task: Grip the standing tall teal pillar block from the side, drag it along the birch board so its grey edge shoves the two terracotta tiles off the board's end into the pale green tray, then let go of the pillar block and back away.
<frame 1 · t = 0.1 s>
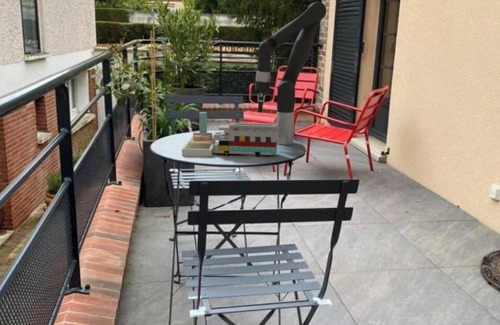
hand: (260, 111, 262), 17 cm above the table, tool pointing down, fingers open, 8 cm apart
tile b: (197, 139, 254), point 4 cm above the table, touching board
toy vehicle: (245, 155, 241), on the table
tray: (198, 153, 242), on the table
tall teal pillar block: (203, 137, 260), point 4 cm above the table, touching board
tile a: (206, 139, 254), point 4 cm above the table, touching board
board: (202, 146, 256), on the table
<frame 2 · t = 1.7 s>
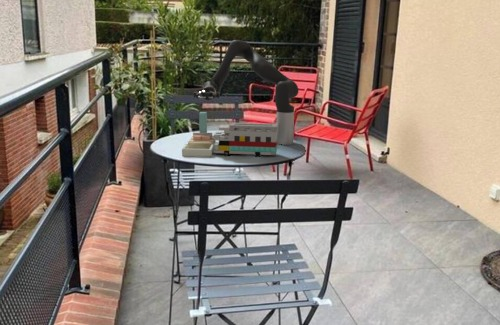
hand: (205, 96, 265), 24 cm above the table, tool horizontal, fingers open, 8 cm apart
nothing on the table moved.
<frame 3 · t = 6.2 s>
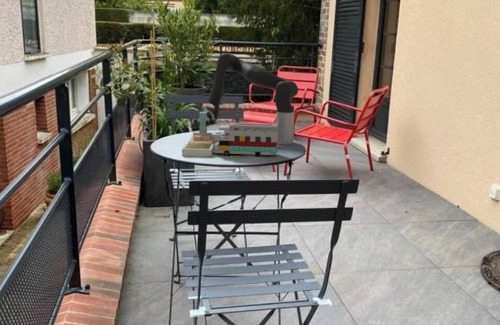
hand: (202, 124, 255), 12 cm above the table, tool horizontal, fingers closed on tall teal pillar block, 3 cm apart
tall teal pillar block: (203, 137, 260), point 4 cm above the table, touching board, gripper
everything else where it was.
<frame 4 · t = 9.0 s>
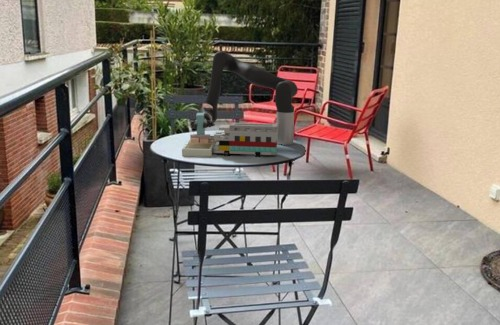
hand: (199, 126, 246), 12 cm above the table, tool horizontal, fingers closed on tall teal pillar block, 3 cm apart
tile b: (195, 142, 248), point 4 cm above the table, touching board
tall teal pillar block: (201, 138, 253), point 5 cm above the table, tilted 11°, touching gripper, tile a
tile a: (204, 142, 248), point 4 cm above the table, touching tall teal pillar block
everything else where it was.
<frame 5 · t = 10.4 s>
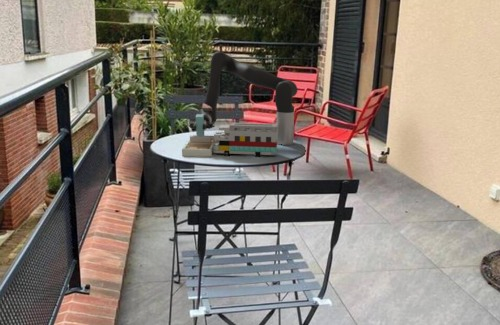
hand: (199, 127, 243), 12 cm above the table, tool horizontal, fingers closed on tall teal pillar block, 3 cm apart
tile b: (193, 147, 242), point 3 cm above the table, tilted 180°, touching tray
tall teal pillar block: (200, 139, 250), point 5 cm above the table, tilted 13°, touching gripper
tile a: (203, 147, 242), point 3 cm above the table, tilted 180°, touching tray
everything else where it was.
when the fingers open (12 cm above the table, at t = 11.4 s): tall teal pillar block stays where it is, resting on board.
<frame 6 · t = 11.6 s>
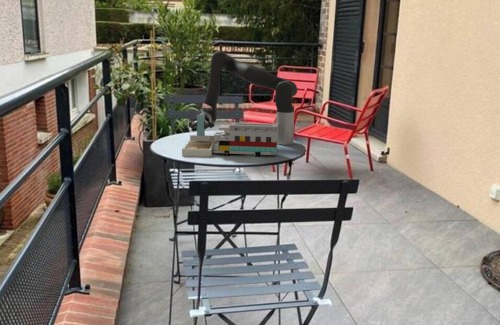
hand: (199, 126, 243), 12 cm above the table, tool horizontal, fingers open, 5 cm apart
tall teal pillar block: (200, 140, 250), point 4 cm above the table, tilted 7°, touching board
everything else where it was.
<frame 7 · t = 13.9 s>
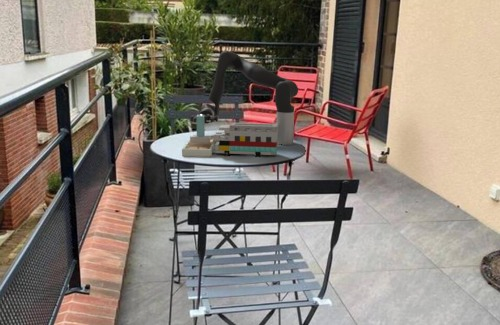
hand: (203, 120, 256), 13 cm above the table, tool horizontal, fingers open, 8 cm apart
tall teal pillar block: (200, 141, 250), point 4 cm above the table, touching board
everything else where it was.
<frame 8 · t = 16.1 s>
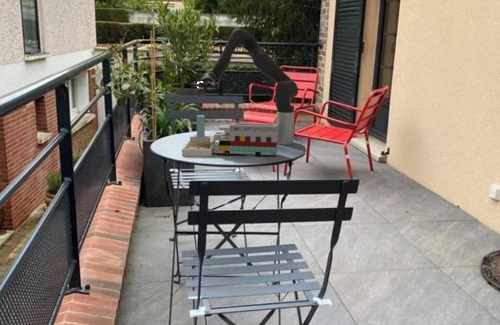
hand: (203, 86, 256), 30 cm above the table, tool horizontal, fingers open, 8 cm apart
nothing on the table moved.
at the end: tile a inside the target area on the tray (2.4 cm from its centre), point 2.6 cm above the tray's base; tile b inside the target area on the tray (2.6 cm from its centre), point 2.6 cm above the tray's base; the gripper is holding nothing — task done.
